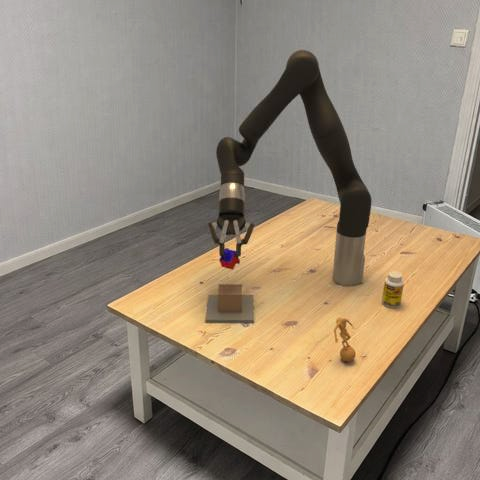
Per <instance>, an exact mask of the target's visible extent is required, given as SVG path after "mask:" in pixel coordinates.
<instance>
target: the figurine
mask: <svg viewBox="0 0 480 480" xmlns="http://www.w3.org/2000/svg"><path fill="white" fill-rule="evenodd" d="M335 323H336V325H335V327H334V329H333V333H334V341H335V343H339V342H338V341H339V339H338V338H337V337H338V335H337V329H339V331H340V332H339V336H340V337H341V339H342V341H341V344H342V348H341V349H340V350H339V356H340V358H341V360H342V361H343V362H346V363H350V362H352V361H354V360H355V358H356V356H357V355H356V350H355V349H354V347H352V346H351V345H350V344H349V343H348V341H349V340H351V338H352V336H351V335H350V333H349V331H348V329H347V328H346V327H347V323H348V324H349V325H350V326H351V327H352V329H353V330H355V328H354V325H353V324H352V322H351V321H350V320H349V319H347V318H345V317H344V318H343V317H338V318H337V319H336V321H335ZM345 344H346V345H345Z"/></svg>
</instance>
